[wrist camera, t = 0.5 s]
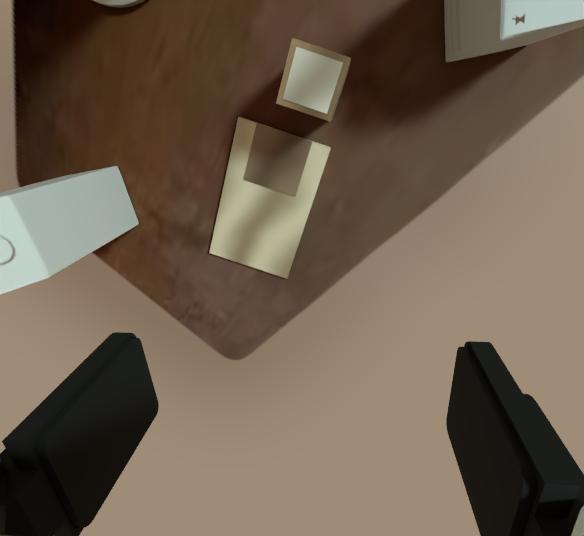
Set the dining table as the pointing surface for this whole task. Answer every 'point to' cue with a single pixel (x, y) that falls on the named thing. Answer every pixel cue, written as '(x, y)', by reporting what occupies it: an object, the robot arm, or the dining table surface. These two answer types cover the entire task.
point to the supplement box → (505, 24)
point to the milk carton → (60, 223)
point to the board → (267, 196)
